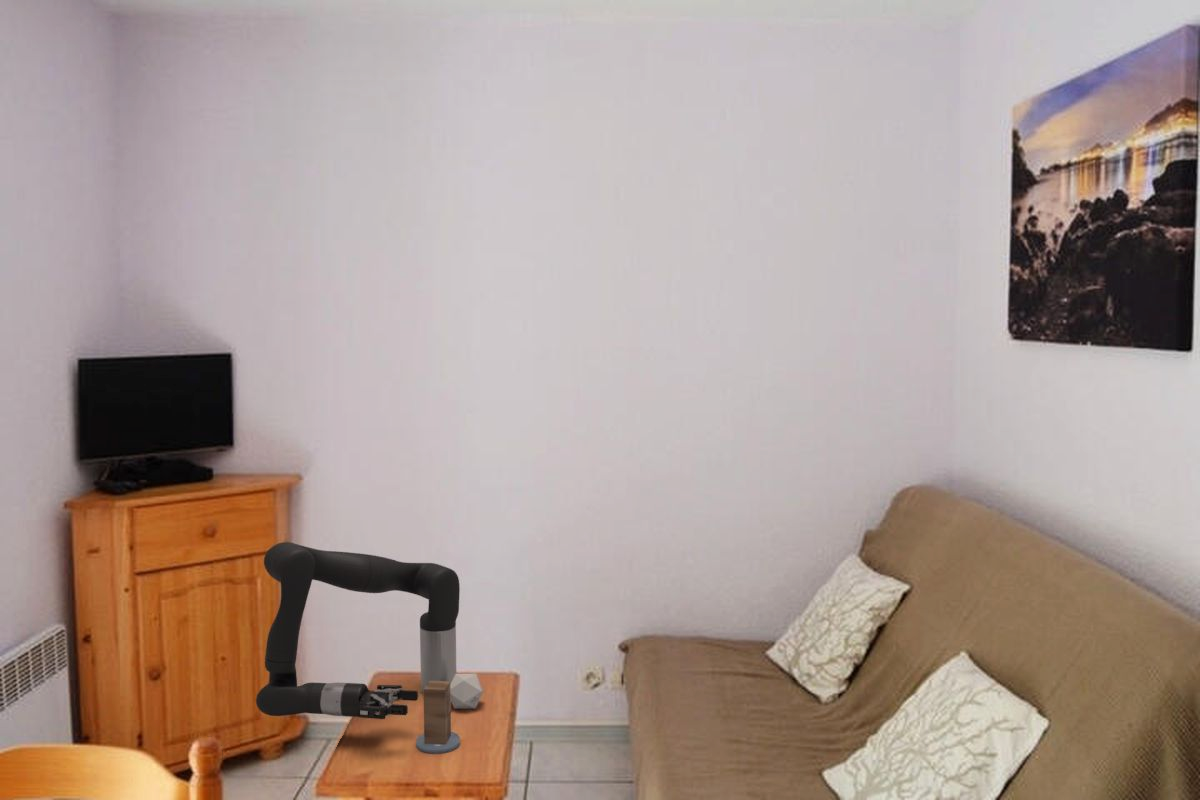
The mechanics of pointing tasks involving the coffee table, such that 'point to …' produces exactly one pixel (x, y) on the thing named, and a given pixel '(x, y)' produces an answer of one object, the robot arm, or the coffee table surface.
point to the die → (465, 691)
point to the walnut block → (437, 712)
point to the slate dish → (438, 745)
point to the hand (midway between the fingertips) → (412, 702)
